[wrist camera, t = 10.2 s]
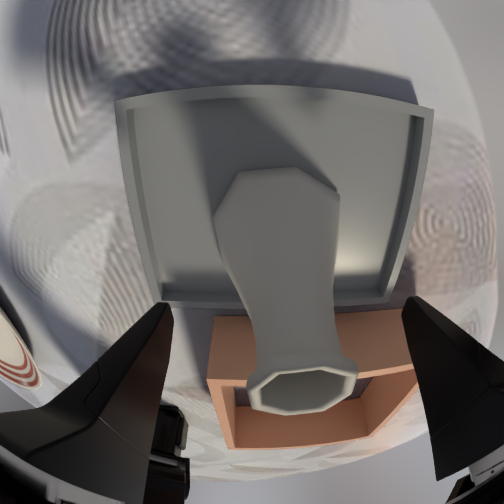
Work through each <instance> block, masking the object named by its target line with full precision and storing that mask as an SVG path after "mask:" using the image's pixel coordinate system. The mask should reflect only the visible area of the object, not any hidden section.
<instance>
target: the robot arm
mask: <svg viewBox="0 0 504 504" xmlns="http://www.w3.org/2000/svg"><path fill="white" fill-rule="evenodd" d="M401 318H402V322H403V327H404V331H405V336H406V340H407V345H408V349H409V353H410V357H411V360H412V363H413V367H414V370H415V374H416V377H417V381H418V385H419V389H420V393H421V397H422V401H423V405H424V409H425V414H426V419H427V423H428V428H429V434H430V437H431V438H430V440H431V445H432V452H433V458H434V466H435V474H436V480H437V481H439V480H441V479H444V478H446V477H448V476H450V475H452V474H454V473H456V472H458V471H460V470H462V469H464V468H466V467H468V468H469V472H470V473H469V474H468V475H466V476H464V477H462V478H460V479H459V480H457V482H456V484H455V486H454V488H453V490H452V492H451V494H450V496H449V498H448V500H447V502H446V503H445V504H504V361H503V360H501V359H500V358H498V357H497V356H496V355H494V354H493V353H492V352H490V351H489V350H488V349H487V348H485V347H484V346H483V345H482V344H480V343H478V341H477V340H475V339H474V338H473V337H472V336H470V335H469V334H468V333H467V332H465V331H464V330H463V329H461V328H460V327H459V326H458V325H456V324H455V323H454V322H452V321H451V320H450V319H448V318H447V317H446V316H444V315H443V314H442V313H440V312H439V311H438V310H436V309H435V308H434V307H432V306H431V305H430V304H428V303H427V302H426V301H424V300H423V299H421V298H420V297H419V296H410V297H408V298H407V300H406V303H405V305H404V307H403V310H402V312H401ZM173 326H174V318H173V315H172V311H171V307H170V304H169V303H168V302H157V303H156V304H155V305H154V306H153V307H152V308H151V309H150V310H149V311H148V312H146V313H145V314H144V315H143V316H142V317H141V318H140V319H139V320H138V321H137V322H136V323H135V324H134V325H133V326H132V327H131V328H130V329H129V330H128V331H127V332H126V333H124V334H123V335H122V336H121V337H120V338H119V339H118V340H117V341H116V342H115V343H114V344H113V345H112V346H111V347H110V348H109V349H108V350H107V351H106V352H105V353H104V354H103V355H102V356H101V357H100V358H99V359H98V361H96V362H95V363H94V364H93V365H92V366H91V367H90V368H89V369H88V370H87V371H85V372H84V373H83V374H82V375H81V376H80V377H79V378H78V379H77V380H75V381H74V382H73V383H72V384H71V385H70V386H68V387H67V388H66V389H65V390H63V391H62V392H61V393H60V394H59V395H57V396H56V397H55V398H54V399H52V400H51V401H50V402H49V403H47V404H45V405H44V406H42V407H39V408H35V409H28V410H21V411H12V412H3V413H0V504H120V502H121V504H184V500H186V499H187V497H188V494H189V489H190V459H189V458H182V457H180V455H181V450H185V448H186V440H187V432H188V423H187V422H186V420H185V418H184V417H183V415H182V414H181V412H180V410H179V409H178V408H174V407H166V406H159V405H160V400H161V395H162V391H163V386H164V382H165V377H166V373H167V369H168V364H169V359H170V351H171V342H172V334H173Z"/></svg>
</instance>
